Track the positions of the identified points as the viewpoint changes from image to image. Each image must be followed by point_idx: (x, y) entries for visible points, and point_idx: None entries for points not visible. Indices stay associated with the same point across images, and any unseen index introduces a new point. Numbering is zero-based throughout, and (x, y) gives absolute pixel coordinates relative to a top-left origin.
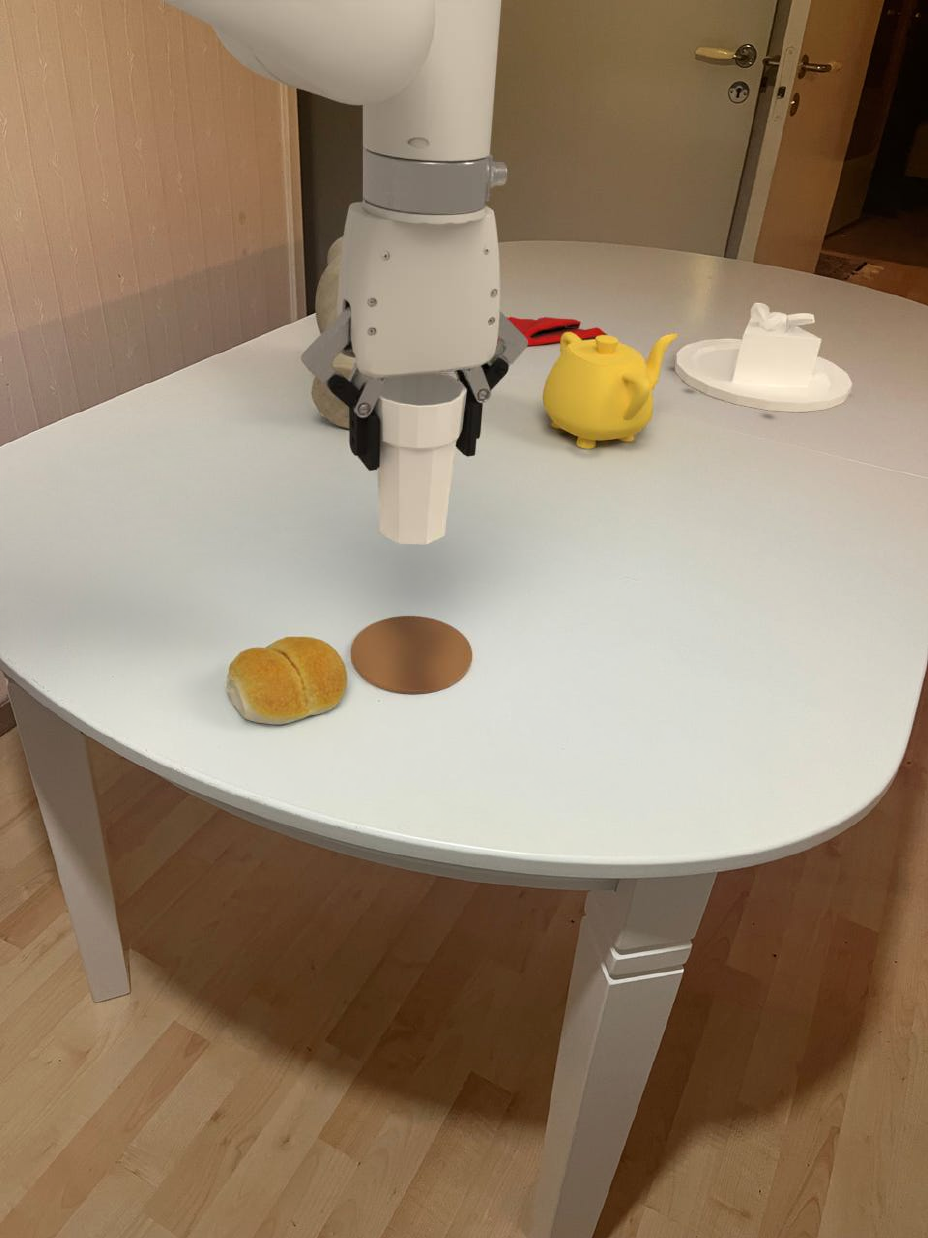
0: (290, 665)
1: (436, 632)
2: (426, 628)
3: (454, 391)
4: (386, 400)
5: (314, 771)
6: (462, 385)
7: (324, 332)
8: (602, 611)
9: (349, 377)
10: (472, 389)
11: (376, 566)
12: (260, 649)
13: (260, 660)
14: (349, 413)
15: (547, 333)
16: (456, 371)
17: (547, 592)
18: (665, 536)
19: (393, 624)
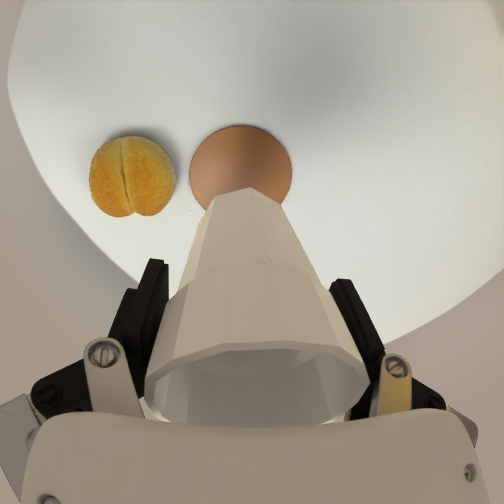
0: (124, 195)
1: (273, 165)
2: (269, 156)
3: (347, 379)
4: (163, 420)
5: (130, 247)
6: (346, 410)
7: (14, 487)
8: (397, 206)
9: (89, 389)
10: (344, 419)
11: (287, 46)
12: (107, 169)
13: (102, 189)
14: (109, 334)
15: None
16: (371, 403)
17: (387, 165)
18: (484, 167)
19: (246, 137)
